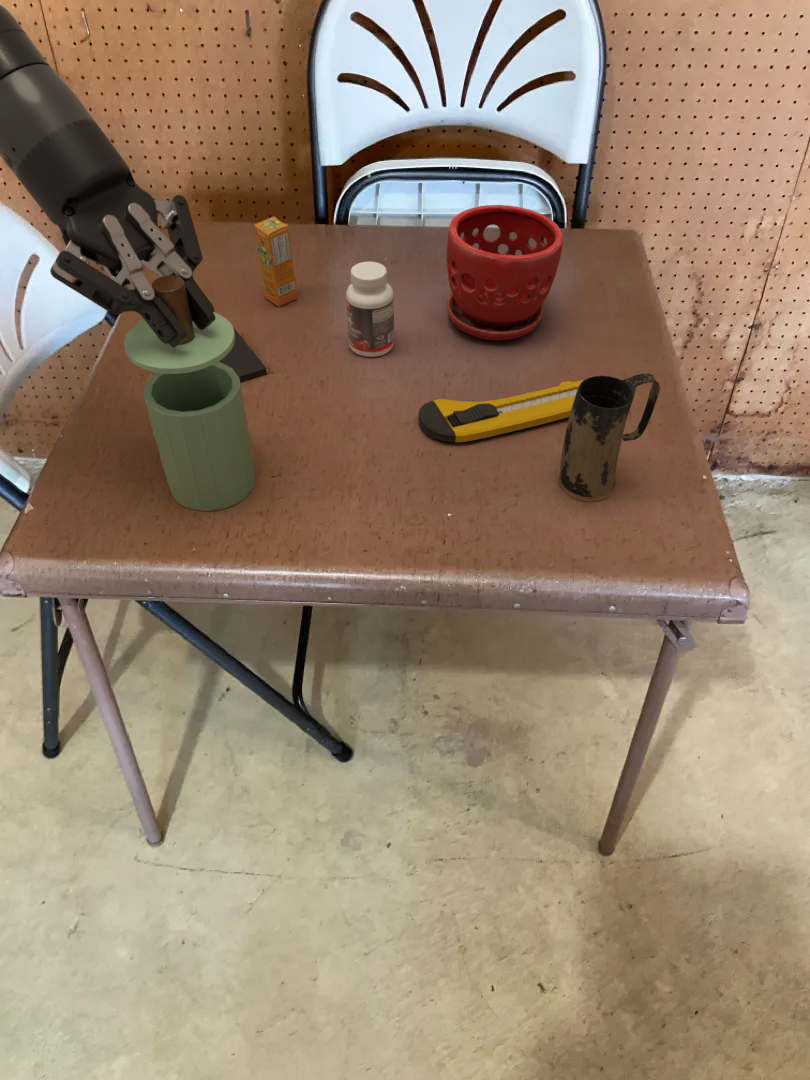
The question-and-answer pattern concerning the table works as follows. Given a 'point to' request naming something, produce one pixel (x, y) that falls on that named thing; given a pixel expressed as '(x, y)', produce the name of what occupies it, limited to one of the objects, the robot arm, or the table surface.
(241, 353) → the mat
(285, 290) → the supplement box
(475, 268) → the flower pot
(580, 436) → the mug
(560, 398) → the utility knife
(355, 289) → the pill bottle
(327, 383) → the table surface
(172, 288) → the stopper
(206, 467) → the canister
